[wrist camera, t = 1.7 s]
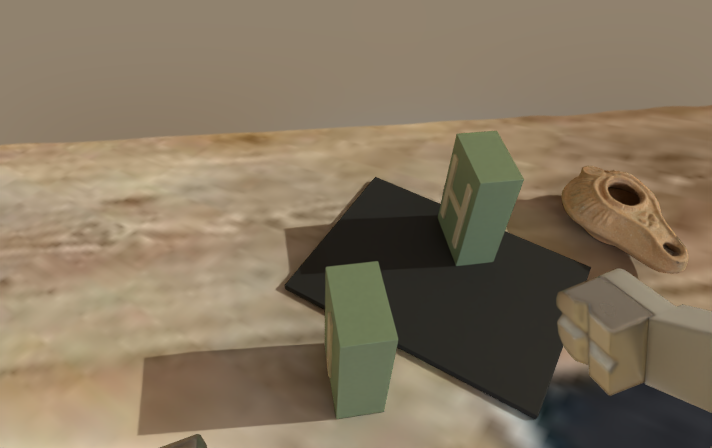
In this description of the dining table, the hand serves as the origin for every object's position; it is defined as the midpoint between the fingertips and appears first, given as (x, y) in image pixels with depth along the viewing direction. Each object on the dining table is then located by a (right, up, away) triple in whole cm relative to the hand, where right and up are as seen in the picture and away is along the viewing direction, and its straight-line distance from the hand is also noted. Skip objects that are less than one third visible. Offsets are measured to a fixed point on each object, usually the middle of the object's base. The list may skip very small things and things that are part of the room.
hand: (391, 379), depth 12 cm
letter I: (-1, -8, +30) cm, 31 cm away
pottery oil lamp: (+24, +2, +41) cm, 47 cm away
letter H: (+9, +2, +39) cm, 40 cm away
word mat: (+7, -2, +36) cm, 37 cm away
